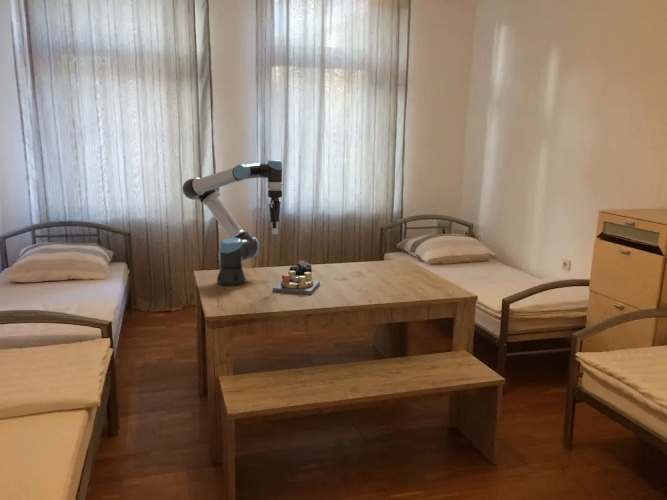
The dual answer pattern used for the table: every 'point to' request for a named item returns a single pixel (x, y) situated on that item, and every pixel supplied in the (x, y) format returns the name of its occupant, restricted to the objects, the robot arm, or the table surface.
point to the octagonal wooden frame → (302, 280)
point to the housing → (296, 290)
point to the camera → (301, 268)
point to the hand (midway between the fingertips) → (275, 233)
